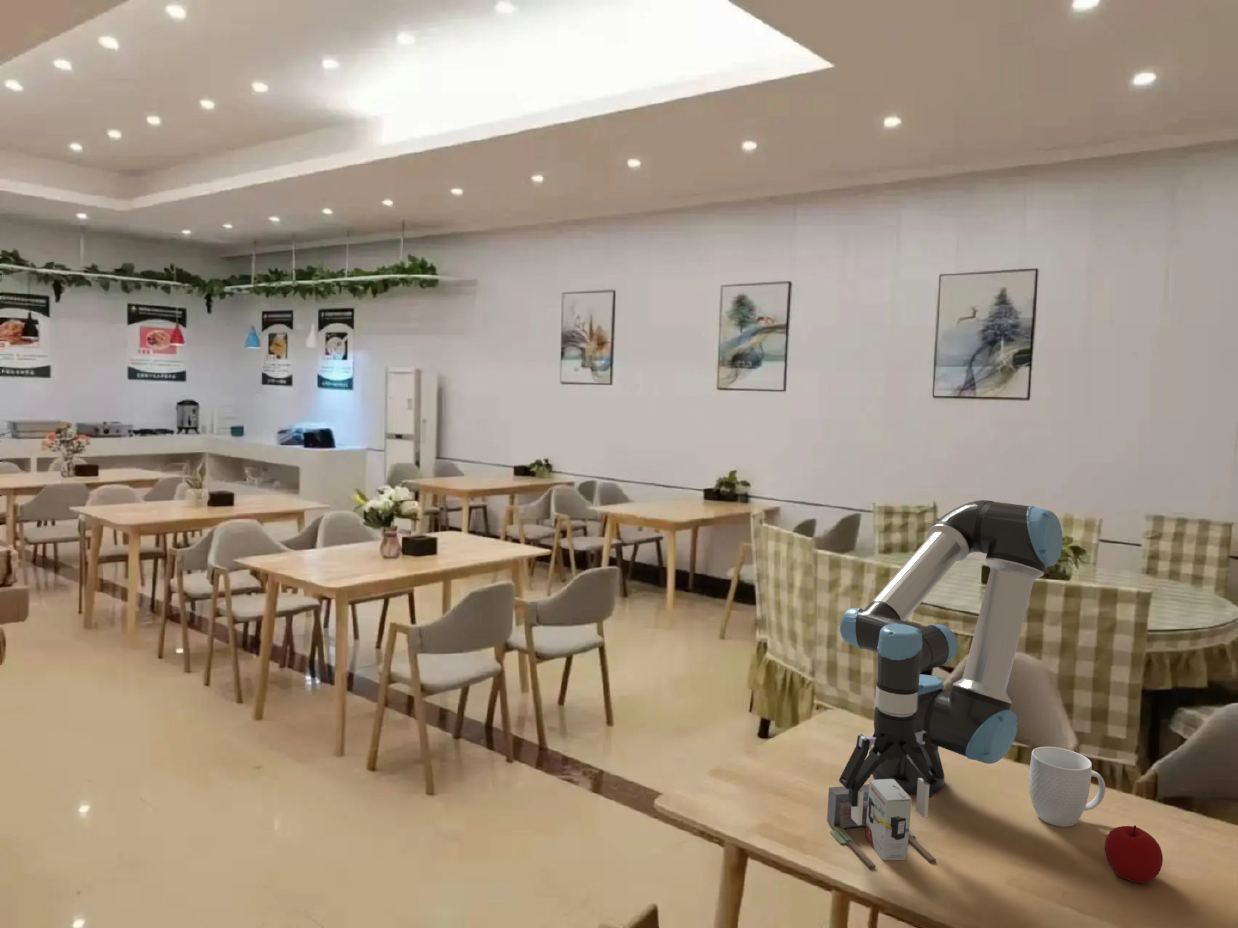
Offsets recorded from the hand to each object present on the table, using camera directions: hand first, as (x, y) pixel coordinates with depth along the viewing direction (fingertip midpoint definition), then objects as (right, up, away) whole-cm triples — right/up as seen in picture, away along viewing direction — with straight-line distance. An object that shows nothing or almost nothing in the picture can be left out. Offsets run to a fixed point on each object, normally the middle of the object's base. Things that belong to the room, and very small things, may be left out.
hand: (889, 817), depth 164 cm
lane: (-1, -6, +1) cm, 6 cm away
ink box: (-1, -6, 0) cm, 6 cm away
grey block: (-3, -5, +9) cm, 11 cm away
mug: (+39, -6, +14) cm, 42 cm away
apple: (+42, -8, -6) cm, 43 cm away
